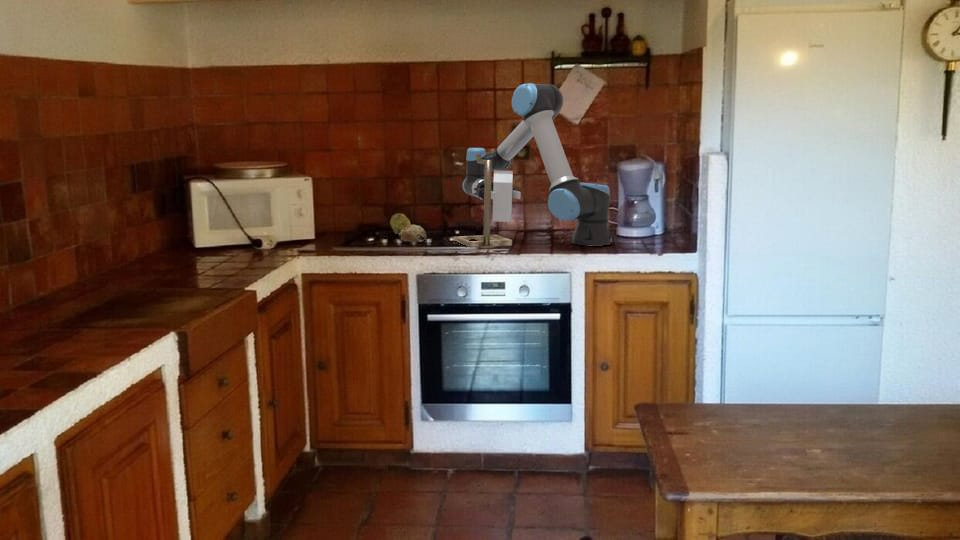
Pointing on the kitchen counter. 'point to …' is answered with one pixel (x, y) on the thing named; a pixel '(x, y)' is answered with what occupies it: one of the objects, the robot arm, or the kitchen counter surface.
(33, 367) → the kitchen counter surface
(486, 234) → the hook post
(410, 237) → the bread roll
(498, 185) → the milk carton
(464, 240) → the shelf board
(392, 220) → the green oval lump
